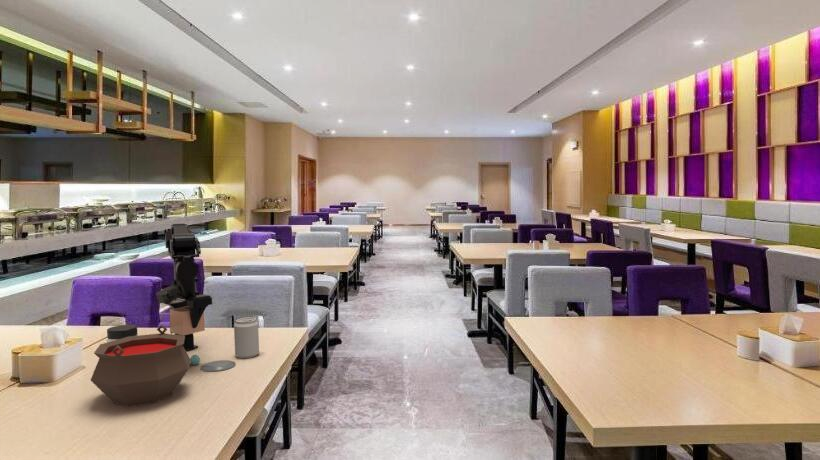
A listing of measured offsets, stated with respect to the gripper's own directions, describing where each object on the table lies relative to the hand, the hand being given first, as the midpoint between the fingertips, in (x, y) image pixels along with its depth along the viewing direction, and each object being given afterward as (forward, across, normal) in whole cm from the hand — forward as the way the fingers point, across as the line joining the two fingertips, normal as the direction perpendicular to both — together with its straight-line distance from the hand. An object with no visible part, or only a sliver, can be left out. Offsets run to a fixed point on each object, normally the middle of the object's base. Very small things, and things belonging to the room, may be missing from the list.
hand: (187, 326), depth 163 cm
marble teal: (+12, +1, +1) cm, 12 cm away
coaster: (+12, +9, +4) cm, 16 cm away
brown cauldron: (+12, +14, -21) cm, 28 cm away
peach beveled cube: (+2, 0, 0) cm, 2 cm away
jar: (+12, -16, -12) cm, 23 cm away
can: (+12, +7, +16) cm, 21 cm away
